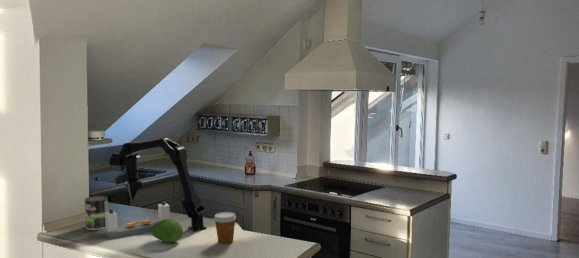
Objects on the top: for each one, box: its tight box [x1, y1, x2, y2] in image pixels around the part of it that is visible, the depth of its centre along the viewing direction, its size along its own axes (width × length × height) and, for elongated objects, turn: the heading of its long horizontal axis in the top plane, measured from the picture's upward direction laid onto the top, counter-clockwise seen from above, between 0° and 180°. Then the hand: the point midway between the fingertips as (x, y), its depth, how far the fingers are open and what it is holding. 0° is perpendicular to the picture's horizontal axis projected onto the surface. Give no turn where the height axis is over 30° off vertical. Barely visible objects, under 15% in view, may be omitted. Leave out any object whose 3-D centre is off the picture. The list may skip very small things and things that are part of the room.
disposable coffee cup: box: [213, 211, 237, 245], centre depth 198 cm, size 10×10×12 cm
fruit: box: [149, 218, 184, 244], centre depth 200 cm, size 15×10×10 cm, turn 64°
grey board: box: [105, 219, 160, 240], centre depth 215 cm, size 8×28×2 cm, turn 123°
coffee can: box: [84, 195, 109, 231], centre depth 222 cm, size 10×10×14 cm
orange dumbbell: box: [126, 219, 151, 227], centre depth 215 cm, size 3×10×2 cm, turn 122°
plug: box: [157, 200, 171, 221], centre depth 221 cm, size 5×4×10 cm
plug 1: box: [105, 208, 119, 232], centre depth 208 cm, size 5×4×10 cm
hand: (132, 199), depth 226 cm, fingers closed
